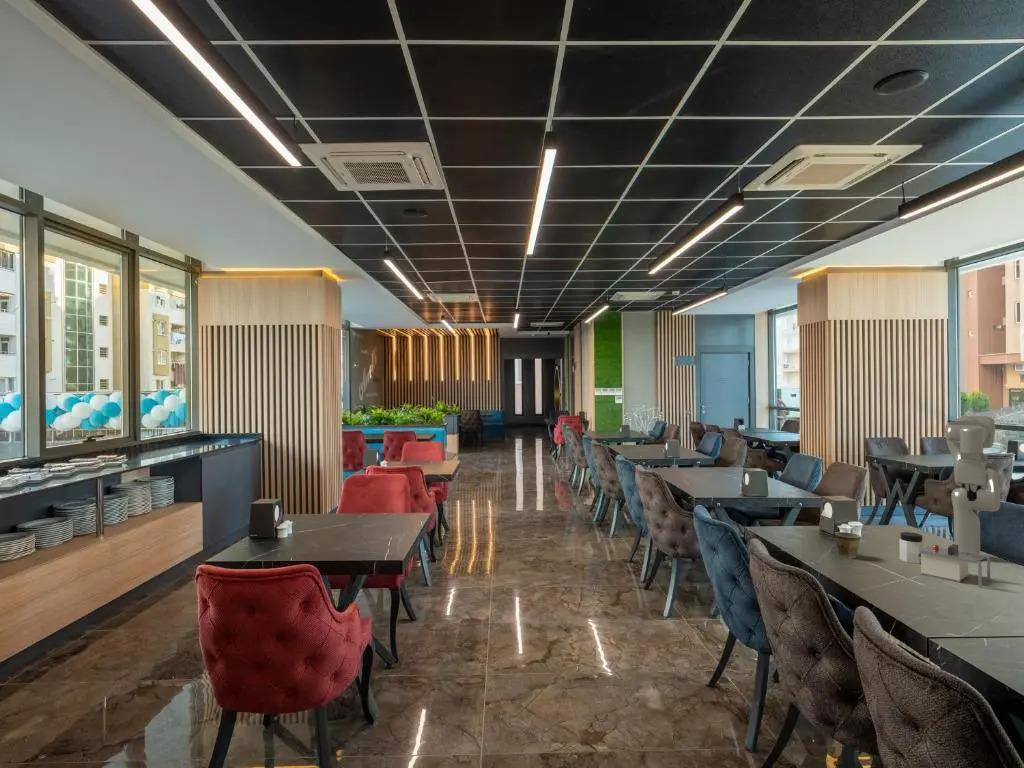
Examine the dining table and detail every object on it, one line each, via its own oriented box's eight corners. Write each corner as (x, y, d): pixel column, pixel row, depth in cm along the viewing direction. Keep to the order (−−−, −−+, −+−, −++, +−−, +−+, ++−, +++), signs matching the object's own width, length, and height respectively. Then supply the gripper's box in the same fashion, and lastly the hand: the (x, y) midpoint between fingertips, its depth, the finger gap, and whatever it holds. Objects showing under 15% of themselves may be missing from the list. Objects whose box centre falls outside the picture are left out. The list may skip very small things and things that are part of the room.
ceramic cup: (864, 559, 264) (864, 537, 264) (842, 559, 264) (842, 537, 264) (849, 551, 277) (848, 530, 277) (827, 551, 277) (827, 530, 277)
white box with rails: (925, 567, 252) (925, 544, 252) (990, 580, 235) (990, 555, 235) (914, 573, 244) (914, 549, 244) (981, 587, 226) (980, 562, 227)
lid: (930, 548, 250) (930, 539, 250) (967, 554, 240) (967, 545, 240) (921, 552, 243) (921, 543, 243) (959, 559, 233) (959, 550, 233)
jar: (917, 564, 257) (917, 537, 257) (896, 560, 263) (896, 533, 264) (926, 561, 261) (926, 534, 262) (906, 557, 268) (905, 531, 268)
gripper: (996, 457, 240) (996, 502, 240) (952, 454, 251) (952, 496, 252) (992, 459, 235) (992, 505, 235) (947, 456, 247) (947, 499, 247)
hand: (971, 500), depth 244 cm, fingers closed
